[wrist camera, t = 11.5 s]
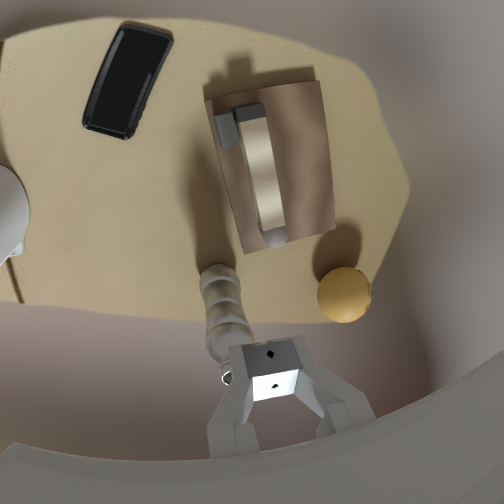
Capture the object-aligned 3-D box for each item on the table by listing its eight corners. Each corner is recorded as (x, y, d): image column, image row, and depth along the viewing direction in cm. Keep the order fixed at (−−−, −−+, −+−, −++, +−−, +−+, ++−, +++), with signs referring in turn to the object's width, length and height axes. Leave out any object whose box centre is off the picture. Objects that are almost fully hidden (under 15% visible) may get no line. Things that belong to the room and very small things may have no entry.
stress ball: (301, 282, 53) (321, 330, 52) (320, 278, 43) (343, 336, 42) (345, 261, 55) (363, 307, 54) (369, 254, 45) (390, 308, 44)
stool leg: (280, 230, 42) (289, 245, 39) (260, 236, 42) (266, 251, 39) (256, 101, 32) (263, 103, 28) (230, 107, 32) (235, 109, 28)
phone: (80, 127, 30) (122, 22, 23) (82, 125, 31) (124, 24, 24) (131, 142, 33) (177, 36, 26) (133, 140, 33) (177, 38, 27)
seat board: (242, 247, 45) (247, 265, 41) (204, 100, 32) (205, 101, 28) (330, 223, 46) (344, 238, 42) (313, 80, 33) (329, 80, 29)
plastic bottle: (224, 251, 45) (247, 353, 28) (244, 279, 49) (273, 378, 32) (190, 271, 46) (196, 375, 29) (212, 297, 49) (228, 397, 33)
